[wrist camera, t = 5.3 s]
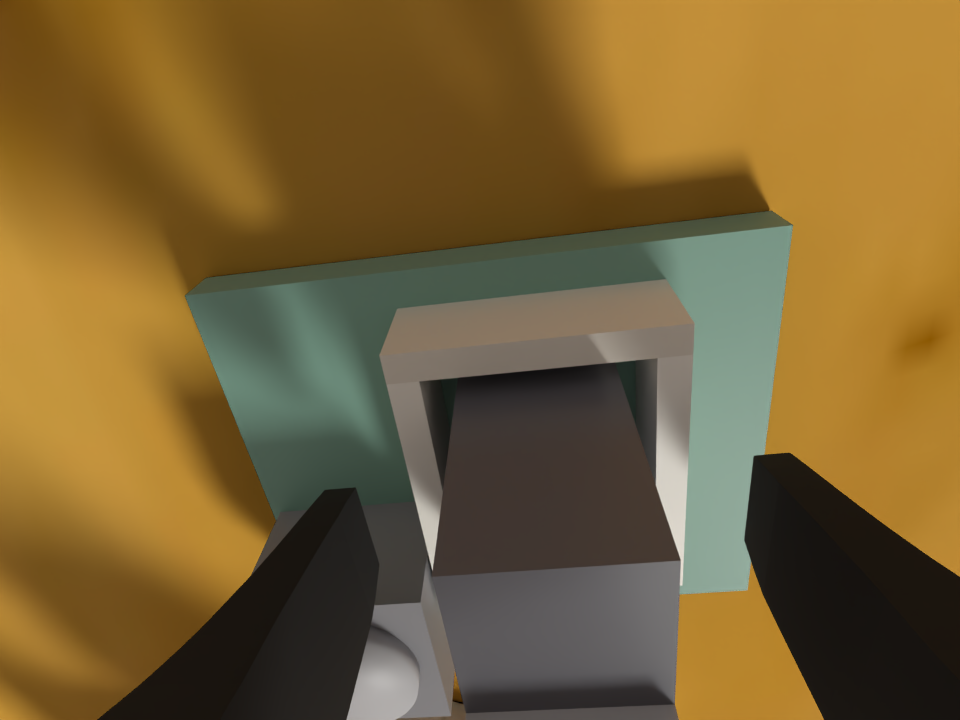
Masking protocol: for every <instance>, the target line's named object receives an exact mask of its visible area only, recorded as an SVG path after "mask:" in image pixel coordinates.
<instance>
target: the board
mask: <svg viewBox="0 0 960 720" xmlns="http://www.w3.org/2000/svg"><path fill="white" fill-rule="evenodd" d="M792 228H793V225H792V224H790V223H789V222H788V221H786V220H785V219H783V218H782V217H780V216H779V215H777V214H776V213H774V212H773V211H765V212H757V213H748V214H740V215H731V216H723V217H714V218H706V219H698V220H689V221H681V222H672V223H664V224H655V225H647V226H639V227H630V228H622V229H613V230H605V231H596V232H588V233H580V234H571V235H563V236H554V237H546V238H537V239H529V240H521V241H512V242H504V243H495V244H487V245H478V246H470V247H462V248H453V249H445V250H436V251H428V252H419V253H411V254H402V255H394V256H386V257H377V258H369V259H360V260H352V261H343V262H335V263H327V264H318V265H310V266H301V267H293V268H284V269H276V270H268V271H259V272H251V273H242V274H234V275H225V276H217V277H209V278H205V279H204V280H203V281H202V282H201V283H199V284H198V285H197V286H196V287H195V288H193V289H192V290H191V291H190V292H189V293H187V294H186V295H185V297H186V300H187V302H188V305H189V307H190V310H191V312H192V315H193V317H194V320H195V322H196V325H197V327H198V329H199V332H200V334H201V337H202V339H203V342H204V344H205V347H206V349H207V352H208V354H209V357H210V359H211V362H212V364H213V366H214V369H215V371H216V374H217V376H218V379H219V381H220V384H221V386H222V389H223V391H224V394H225V396H226V398H227V401H228V403H229V406H230V408H231V411H232V413H233V416H234V418H235V421H236V423H237V426H238V428H239V431H240V433H241V435H242V438H243V440H244V443H245V445H246V448H247V450H248V453H249V455H250V458H251V460H252V463H253V465H254V467H255V470H256V472H257V475H258V477H259V480H260V482H261V485H262V487H263V490H264V492H265V495H266V497H267V500H268V502H269V504H270V507H271V509H272V512H273V514H274V517H275V519H276V523H275V525H274V527H273V529H272V531H271V533H270V536H269V538H268V540H267V542H266V544H265V546H264V549H263V551H262V553H261V555H260V557H259V559H258V562H257V564H256V566H255V568H254V570H253V572H252V574H253V573H254V572H255V570H256V569H257V568H258V567H259V566H260V565H261V564H262V562H263V561H264V560H265V559H266V558H267V557H268V556H269V554H270V553H271V552H272V551H273V550H274V549H275V548H276V546H277V545H278V544H279V543H280V542H281V541H282V539H283V538H284V537H285V536H286V535H287V533H288V532H289V531H290V530H291V529H292V528H293V526H294V525H295V524H296V523H297V522H298V520H299V519H300V518H301V517H302V516H303V514H304V513H305V512H306V511H307V510H308V509H309V507H310V506H311V505H312V504H313V503H314V502H315V500H316V499H317V498H318V497H319V496H320V495H321V494H322V492H323V491H324V490H328V489H341V488H353V487H356V489H357V492H358V496H359V499H360V502H361V505H362V509H363V512H364V515H365V518H366V522H367V525H368V528H369V531H370V535H371V538H372V541H373V545H374V548H375V551H376V554H377V558H378V561H379V573H378V581H377V590H376V597H375V604H374V611H373V618H372V622H371V626H370V630H369V634H368V638H367V642H366V646H365V650H364V654H363V658H362V662H361V666H360V670H359V674H358V678H357V681H356V685H355V689H354V693H353V697H352V701H351V705H350V709H349V712H348V716H347V720H396V719H398V718H420V717H443V716H451V712H452V699H453V686H454V673H455V668H454V664H453V660H452V656H451V652H450V648H449V644H448V640H447V636H446V632H445V628H444V624H443V620H442V616H441V612H440V608H439V604H438V600H437V596H436V592H435V588H434V584H433V580H432V571H433V564H434V556H435V548H436V541H437V533H438V525H439V518H440V510H441V502H442V495H443V487H444V479H445V472H446V464H447V456H448V449H449V441H450V434H451V426H452V418H453V411H454V403H455V395H456V388H457V380H458V378H460V377H470V376H480V375H491V374H501V373H511V372H521V371H532V370H542V369H552V368H562V367H573V366H583V365H593V364H603V363H614V362H615V364H616V367H617V370H618V373H619V376H620V379H621V382H622V385H623V388H624V391H625V394H626V397H627V400H628V403H629V406H630V409H631V412H632V415H633V418H634V421H635V424H636V427H637V430H638V433H639V436H640V439H641V442H642V445H643V448H644V451H645V454H646V457H647V460H648V463H649V466H650V469H651V472H652V475H653V478H654V481H655V484H656V487H657V490H658V493H659V496H660V499H661V502H662V505H663V508H664V511H665V514H666V517H667V520H668V523H669V526H670V529H671V532H672V535H673V538H674V541H675V544H676V547H677V550H678V553H679V556H680V559H681V570H680V593H679V594H693V593H709V592H726V591H742V590H747V589H748V581H749V573H750V565H751V559H750V556H749V553H748V550H747V547H746V544H745V541H744V536H745V527H746V519H747V510H748V501H749V492H750V483H751V475H752V466H753V457H754V456H756V455H764V453H765V445H766V437H767V429H768V421H769V413H770V405H771V397H772V389H773V381H774V373H775V365H776V357H777V349H778V341H779V333H780V325H781V317H782V309H783V300H784V292H785V284H786V276H787V268H788V260H789V252H790V244H791V236H792Z"/></svg>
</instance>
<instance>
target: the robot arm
mask: <svg viewBox="0 0 960 720" xmlns="http://www.w3.org/2000/svg"><path fill="white" fill-rule="evenodd" d="M744 541H745V544H746V547H747V550H748V553H749V556H750V559H751V562H752V565H753V568H754V571H755V574H756V577H757V579H758V582H759V585H760V588H761V590H762V593H763V596H764V598H765V600H766V602H767V604H768V606H769V608H770V610H771V612H772V614H773V617H774V619H775V621H776V623H777V625H778V627H779V629H780V631H781V633H782V635H783V637H784V639H785V641H786V643H787V645H788V647H789V649H790V651H791V653H792V655H793V657H794V659H795V661H796V663H797V665H798V667H799V669H800V671H801V673H802V676H803V678H804V680H805V682H806V684H807V686H808V688H809V690H810V692H811V694H812V696H813V698H814V700H815V702H816V704H817V706H818V708H819V710H820V712H821V714H822V716H823V718H824V720H960V577H959V576H958V575H956V574H955V573H953V572H952V571H950V570H949V569H947V568H946V567H944V566H943V565H941V564H940V563H938V562H936V561H935V560H933V559H932V558H930V557H929V556H928V555H926V554H925V553H923V552H922V551H920V550H919V549H918V548H916V547H915V546H913V545H912V544H910V543H909V542H908V541H906V540H905V539H903V538H902V537H901V536H899V535H898V534H896V533H895V532H894V531H892V530H891V529H890V528H888V527H887V526H885V525H884V524H883V523H881V522H880V521H879V520H877V519H876V518H875V517H873V516H872V515H871V514H869V513H868V512H867V511H865V510H864V509H863V508H861V507H860V506H859V505H857V504H856V503H855V502H853V501H852V500H851V499H849V498H848V497H847V496H846V495H844V494H843V493H842V492H840V491H839V490H838V489H836V488H835V487H834V486H833V485H831V484H830V483H829V482H827V481H826V480H825V479H824V478H822V477H821V476H820V475H818V474H817V473H816V472H815V471H813V470H812V469H811V468H809V467H808V466H807V465H806V464H804V463H803V462H802V461H800V460H799V459H798V458H796V457H795V456H794V455H792V454H791V453H781V454H768V455H756V456H754V457H753V466H752V475H751V483H750V492H749V501H748V510H747V519H746V527H745V536H744ZM378 573H379V561H378V558H377V554H376V551H375V548H374V545H373V541H372V538H371V535H370V531H369V528H368V525H367V522H366V518H365V515H364V512H363V509H362V505H361V502H360V499H359V496H358V492H357V489H356V487H353V488H341V489H328V490H324V491H323V492H322V494H321V495H320V496H319V497H318V498H317V499H316V500H315V502H314V503H313V504H312V505H311V506H310V507H309V509H308V510H307V511H306V512H305V513H304V514H303V516H302V517H301V518H300V519H299V520H298V522H297V523H296V524H295V525H294V526H293V528H292V529H291V530H290V531H289V532H288V533H287V535H286V536H285V537H284V538H283V539H282V541H281V542H280V543H279V544H278V545H277V546H276V548H275V549H274V550H273V551H272V552H271V553H270V554H269V556H268V557H267V558H266V559H265V560H264V561H263V562H262V564H261V565H260V566H259V567H258V568H257V569H256V570H255V572H254V573H253V574H252V575H251V576H250V577H249V578H248V580H247V581H246V582H245V583H244V584H243V585H242V586H241V587H240V588H239V589H238V590H237V591H236V592H235V593H234V594H233V595H232V596H231V598H230V599H229V600H228V601H227V602H226V603H225V604H224V605H223V606H222V607H221V608H220V609H219V610H218V611H217V612H216V613H215V614H214V615H213V617H212V618H211V619H210V620H209V621H208V622H207V623H206V624H205V625H204V626H203V627H202V628H201V629H200V630H199V631H198V632H197V633H196V634H195V635H194V636H193V637H192V638H191V639H189V640H188V641H187V642H186V643H185V644H184V645H183V646H182V647H181V648H180V649H179V650H178V651H177V652H176V653H175V654H174V655H172V656H171V657H170V658H169V659H168V660H167V661H166V662H165V663H164V664H163V665H161V666H160V667H159V668H158V669H157V670H156V671H155V672H154V673H153V674H152V675H150V676H149V677H148V678H147V679H146V680H145V681H144V682H142V683H141V684H140V685H139V686H138V687H137V688H135V689H134V690H133V691H132V692H131V693H129V694H128V695H127V696H126V697H124V698H123V699H122V700H121V701H120V702H118V703H117V704H116V705H115V706H113V707H112V708H111V709H110V710H109V711H107V712H106V713H105V714H104V715H103V716H101V717H100V718H99V719H98V720H347V716H348V712H349V709H350V705H351V701H352V697H353V693H354V689H355V685H356V681H357V678H358V674H359V670H360V666H361V662H362V658H363V654H364V650H365V646H366V642H367V638H368V634H369V630H370V626H371V622H372V618H373V611H374V604H375V597H376V590H377V581H378Z"/></svg>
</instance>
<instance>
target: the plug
mask: <svg viewBox="0 0 960 720" xmlns="http://www.w3.org/2000/svg"><path fill="white" fill-rule="evenodd" d="M680 570H681V559H680V556H679V553H678V550H677V547H676V544H675V541H674V538H673V535H672V532H671V529H670V526H669V523H668V520H667V517H666V514H665V511H664V508H663V505H662V502H661V499H660V496H659V493H658V490H657V487H656V484H655V481H654V478H653V475H652V472H651V469H650V466H649V463H648V460H647V457H646V454H645V451H644V448H643V445H642V442H641V439H640V436H639V433H638V430H637V427H636V424H635V421H634V418H633V415H632V412H631V409H630V406H629V403H628V400H627V397H626V394H625V391H624V388H623V385H622V382H621V379H620V376H619V373H618V370H617V367H616V364H615V362H614V363H603V364H593V365H583V366H573V367H562V368H552V369H542V370H532V371H521V372H511V373H501V374H491V375H480V376H470V377H460V378H458V380H457V388H456V395H455V403H454V411H453V418H452V426H451V434H450V441H449V449H448V456H447V464H446V472H445V479H444V487H443V495H442V502H441V510H440V518H439V525H438V533H437V541H436V548H435V556H434V564H433V571H432V580H433V584H434V588H435V592H436V596H437V600H438V604H439V608H440V612H441V616H442V620H443V624H444V628H445V632H446V636H447V640H448V644H449V648H450V652H451V656H452V660H453V664H454V668H455V672H456V676H457V680H458V684H459V688H460V692H461V696H462V700H463V704H464V708H465V712H466V718H465V720H678V716H677V712H676V708H675V685H676V662H677V639H678V616H679V593H680Z"/></svg>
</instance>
